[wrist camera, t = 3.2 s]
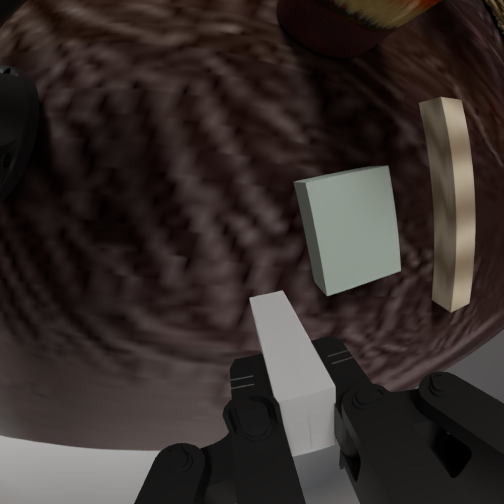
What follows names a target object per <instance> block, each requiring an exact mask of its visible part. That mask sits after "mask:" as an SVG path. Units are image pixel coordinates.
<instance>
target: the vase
mask: <svg viewBox="0 0 504 504" xmlns="http://www.w3.org/2000/svg"><path fill="white" fill-rule="evenodd" d="M441 1H442V0H278V3H277V17H278V20H279V23H280V25H281V27H282V28H283V30H284V31H285V32H286V34H287V35H288V36H289V37H290V38H291V39H292V40H293V41H294V42H296V43H297V44H298V45H299V46H301V47H303V48H304V49H306V50H308V51H310V52H312V53H314V54H316V55H319V56H321V57H325V58H329V59H336V60H347V59H352V58H355V57H358V56H360V55H362V54H364V53H365V52H366V51H368V50H369V49H371V48H372V47H373V46H375V45H376V44H377V43H379V42H380V41H382V40H383V39H385V38H386V37H387V36H389V35H390V34H392V33H393V32H395V31H396V30H397V29H399V28H400V27H402V26H403V25H405V24H406V23H408V22H409V21H411V20H412V19H414V18H415V17H417V16H419V15H420V14H422V13H423V12H425V11H426V10H428V9H430V8H431V7H433V6H434V5H436V4H438V3H439V2H441Z"/></svg>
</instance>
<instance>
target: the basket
mask: <svg viewBox="0 0 504 504" xmlns="http://www.w3.org/2000/svg"><path fill="white" fill-rule="evenodd" d="M485 2H486V4H487V5H488V6H490V7H491V9H492V11H493V15H494V16H496V17H495V18H496V20H498V21H497V22H498V27H500V30H501V29H502V30H503V31H502V34H503V35H504V0H485Z"/></svg>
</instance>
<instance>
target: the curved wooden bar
mask: <svg viewBox="0 0 504 504" xmlns="http://www.w3.org/2000/svg"><path fill="white" fill-rule="evenodd" d="M419 107H420V112H421V117H422V122H423V127H424V132H425V138H426V144H427V151H428V158H429V165H430V174H431V184H432V196H433V212H434V275H433V291H432V300H433V301H434V302H436V303H437V304H439V305H440V306H442V307H443V308H445V309H446V310H448V311H449V312H453V311H455V310H457V309H459V308H461V307H463V306H465V305H467V304H469V300H470V293H471V285H472V276H473V264H474V249H475V195H474V179H473V168H472V159H471V151H470V144H469V137H468V131H467V125H466V120H465V115H464V110H463V106H462V102H461V100H457V99H450V98H444V97H439V98H435V99H432V100H428V101H424V102H421V103H419Z"/></svg>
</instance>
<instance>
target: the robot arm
mask: <svg viewBox="0 0 504 504" xmlns="http://www.w3.org/2000/svg"><path fill="white" fill-rule="evenodd" d="M26 1H27V0H0V28H1V27H2V25H3V24H4V23H5V22H6V21H7V20H8V19H9V18H10V17H11V16H12V15H13V14H14V13H15V12H16V11H17V10H18V9H19V8H20V7H21V6H22V5H23V4H24V3H25V2H26ZM38 121H39V99H38V93H37V89H36V86H35V84H34V82H33V80H32V78H31V77H30V76H29V75H28V74H27V73H25V72H24V71H21V70H19V69H17V68H15V67H12V66H8V65H0V202H1V201H2V200H3V199H5V198H6V197H7V196H8V195H9V194H10V193H11V191H12V190H13V189H14V188H15V186H16V185H17V183H18V182H19V180H20V178H21V177H22V175H23V173H24V171H25V169H26V166H27V164H28V162H29V159H30V156H31V153H32V150H33V147H34V143H35V139H36V134H37V129H38ZM250 303H251V308H252V312H253V317H254V322H255V326H256V331H257V336H258V340H259V345H260V349H261V354H259V355H254V356H250V357H245V358H240V359H235V360H234V362H233V364H232V366H231V368H230V379H231V394H232V400H231V401H229V403H228V404H227V405H226V406H225V408H224V411H223V415H222V416H223V418H224V421H225V423H226V425H227V428H228V430H229V433H228V435H227V436H226V437H224V438H223V439H222V440H220V441H218V442H216V443H214V444H212V445H209V446H206V447H204V448H201V449H199V448H198V447H196V446H195V445H191V444H188V443H177V444H174V445H171V446H168V447H166V448H165V449H163V450H162V451H160V453H159V454H158V455H157V457H156V458H155V460H154V462H153V464H152V466H151V469H150V471H149V473H148V475H147V477H146V479H145V481H144V484H143V486H142V488H141V490H140V492H139V494H138V497H137V499H136V501H135V503H134V504H306V503H305V499H304V496H303V493H302V489H301V486H300V482H299V478H298V475H297V471H296V468H295V464H294V461H293V457H294V456H298V455H302V454H306V453H310V452H313V451H317V450H320V449H324V448H327V447H330V446H334V445H335V441H336V439H337V441H338V443H339V445H340V462H339V465H340V469H343V468H344V467H345V469H346V471H347V474H348V476H349V479H350V481H351V483H352V486H353V488H354V490H355V493H356V495H357V497H358V500H359V502H360V504H504V404H503V403H502V402H500V401H499V400H497V399H495V398H493V397H492V396H490V395H488V394H487V393H485V392H483V391H481V390H480V389H478V388H476V387H474V386H473V385H471V384H469V383H468V382H466V381H464V380H462V379H461V378H459V377H457V376H456V375H453V374H451V373H448V372H435V373H431V374H429V375H427V376H425V377H424V378H423V379H422V381H421V382H420V385H419V388H418V389H413V390H407V391H401V392H389V391H388V390H386V389H385V388H384V387H383V386H380V385H377V384H372V383H371V381H370V380H369V378H368V377H367V376H366V374H365V373H364V371H363V370H362V369H361V367H360V366H359V365H358V363H357V362H356V360H355V359H354V358H353V357H352V355H351V353H350V352H349V351H348V349H347V348H346V346H345V345H344V344H343V342H342V341H340V340H339V339H337V338H335V337H333V336H328V337H324V338H320V339H317V340H313V341H310V339H309V337H308V335H307V334H306V332H305V330H304V328H303V326H302V324H301V323H300V321H299V319H298V317H297V315H296V314H295V312H294V310H293V308H292V306H291V305H290V303H289V301H288V299H287V297H286V296H285V294H284V292H283V291H279V292H274V293H270V294H265V295H260V296H256V297H251V298H250Z"/></svg>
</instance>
